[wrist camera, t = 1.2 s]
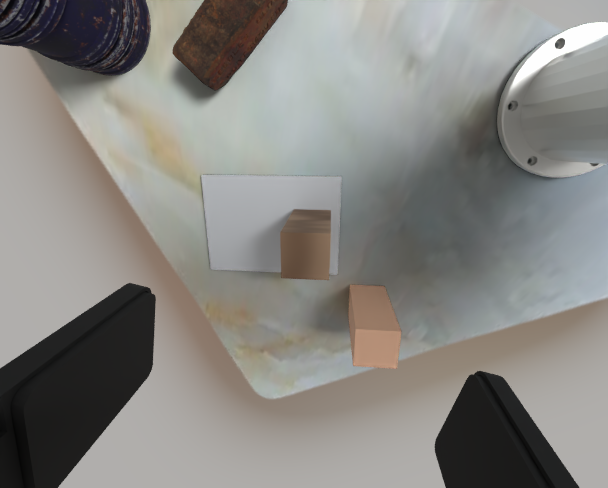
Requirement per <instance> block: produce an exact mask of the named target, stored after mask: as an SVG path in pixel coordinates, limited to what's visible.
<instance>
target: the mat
mask: <svg viewBox="0 0 608 488" xmlns="http://www.w3.org/2000/svg"><path fill="white" fill-rule="evenodd" d="M201 180H202V190H203V200H204V210H205V219H206V229H207V239H208V249H209V258H210V268H211V270H233V271H258V272H281V247H280V232H281V230H282V228H283V227H284V225H285V223H286V222H287V220H288V218H289V217H290V215H291V213H292V211H293V210H294V209H308V210H331V254H330V268H329V274H333V275H338V256H339V232H340V209H341V185H342V176H288V175H208V174H203V175H201Z"/></svg>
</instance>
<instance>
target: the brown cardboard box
mask: <svg viewBox="0 0 608 488" xmlns="http://www.w3.org/2000/svg"><path fill="white" fill-rule="evenodd" d="M280 247H281V278H291V279H315V280H329V268H330V254H331V210H308V209H294V210H293V211H292V213H291V215H290V217H289V218H288V220H287V222H286V223H285V225H284V227H283V228H282V230H281V232H280Z"/></svg>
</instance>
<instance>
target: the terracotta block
mask: <svg viewBox="0 0 608 488" xmlns="http://www.w3.org/2000/svg"><path fill="white" fill-rule="evenodd" d="M348 318H349V328H350V338H351V349H352V359H353V366H361V367H377V368H393V369H397V364H398V356H399V348H400V340H401V329H400V326H399V324H398V321H397V318H396V316H395V313H394V310H393V308H392V305H391V302H390V299H389V297H388V294H387V291H386V289H385V286H370V285H350V292H349V309H348Z"/></svg>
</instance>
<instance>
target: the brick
mask: <svg viewBox="0 0 608 488" xmlns="http://www.w3.org/2000/svg"><path fill="white" fill-rule="evenodd" d="M287 3H288V0H204V2H203V3H202V5H201V6H200V7H199V9H198V10H197V12H196V14H195V15H194V17H193V18H192V19H191V21H190V23H189V25H188V26H187V27H186V28H185V29H184V31H183V34H182V35H181V36H180V38H179V39H178V41H177V42H176V43H175V45H174V47H173V54H174V56H175V57H176V58H177V59H178V60H179V61H181V62H182V63H183V64H184V65H185V66H186V67H187V68H188V69H189V70H190V71H191V72H192V73H193V74H194V75H195V76H196V77H197V78H198V79H199V80H200V81H202V82H203V83H204V84H205V85H207V86H208V87H210V88H212V89H213V90H218V89H219V88H221V87H222V86H224V85H225V84H226V83H227V82H228V81H229V79H230V78H231V77H232V75H233V74H234V73H235V71H236V70H237V69H239V67H240V66H242V64H243V63H244V62H245V60H246V59H247V58H248V57H249V55H250V54H251V53H252V51H253V50H254V49H255V47H256V46H257V45H258V43H259V42H260V41H261V40H262V38H263V37H264V35H265V34H266V33H267V31H268V30H269V29H270V28H271V26H272V25H273V24H274V23H275V21H276V20H277V18H278V17H279V16H280V15H281V13H282V12H283V11H284V9H285V8H286V7H287Z"/></svg>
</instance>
